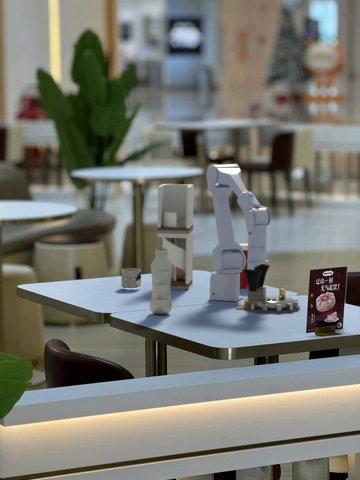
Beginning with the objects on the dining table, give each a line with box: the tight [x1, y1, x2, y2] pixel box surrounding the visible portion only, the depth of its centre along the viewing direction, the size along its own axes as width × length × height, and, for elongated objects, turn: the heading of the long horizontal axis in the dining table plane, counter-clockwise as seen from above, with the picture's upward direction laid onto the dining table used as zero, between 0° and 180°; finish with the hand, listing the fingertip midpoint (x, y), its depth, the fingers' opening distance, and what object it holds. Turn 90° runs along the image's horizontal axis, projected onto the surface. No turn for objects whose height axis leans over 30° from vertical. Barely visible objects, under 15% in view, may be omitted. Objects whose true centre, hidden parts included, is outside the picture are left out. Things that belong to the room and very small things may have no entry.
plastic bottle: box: [149, 247, 173, 315], centre depth 374 cm, size 6×7×20 cm
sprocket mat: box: [235, 303, 301, 315], centre depth 387 cm, size 19×18×1 cm
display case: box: [157, 183, 195, 290], centre depth 422 cm, size 11×11×35 cm
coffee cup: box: [238, 242, 249, 290], centre depth 423 cm, size 8×8×15 cm
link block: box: [247, 286, 267, 301], centre depth 385 cm, size 5×3×4 cm, turn 71°
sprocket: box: [244, 288, 299, 311], centre depth 387 cm, size 17×17×5 cm
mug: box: [121, 267, 142, 288], centre depth 421 cm, size 10×7×7 cm
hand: (256, 289), depth 385 cm, fingers open, 7 cm apart
